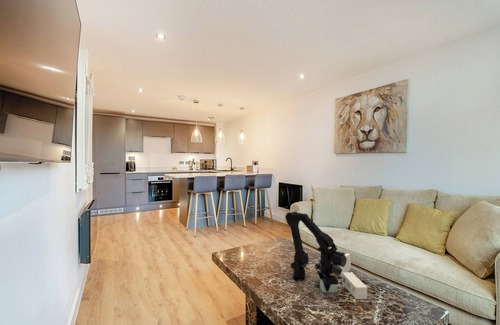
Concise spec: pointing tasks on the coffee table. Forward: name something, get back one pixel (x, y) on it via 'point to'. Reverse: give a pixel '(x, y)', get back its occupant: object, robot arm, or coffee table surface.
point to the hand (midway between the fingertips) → (325, 288)
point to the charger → (332, 288)
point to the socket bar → (354, 285)
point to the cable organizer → (348, 264)
